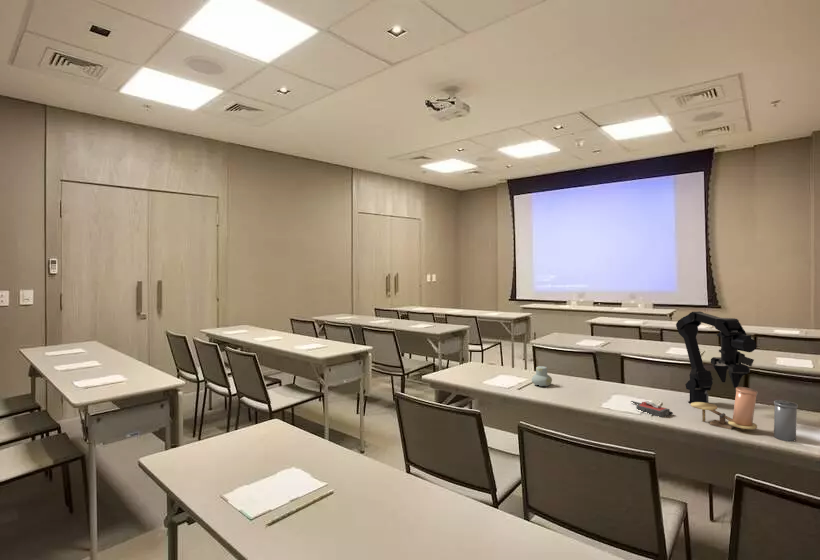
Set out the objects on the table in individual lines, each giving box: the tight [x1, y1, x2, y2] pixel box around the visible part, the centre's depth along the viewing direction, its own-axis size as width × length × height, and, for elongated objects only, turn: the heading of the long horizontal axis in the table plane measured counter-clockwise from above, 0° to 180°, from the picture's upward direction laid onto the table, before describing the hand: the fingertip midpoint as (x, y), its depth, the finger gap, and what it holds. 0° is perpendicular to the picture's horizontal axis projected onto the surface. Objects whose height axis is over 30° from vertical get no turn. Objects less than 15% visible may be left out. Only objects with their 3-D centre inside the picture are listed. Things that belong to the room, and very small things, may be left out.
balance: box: [690, 402, 758, 431], centre depth 176 cm, size 22×9×7 cm, turn 39°
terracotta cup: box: [732, 386, 758, 426], centre depth 170 cm, size 7×7×13 cm
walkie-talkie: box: [630, 400, 674, 418], centre depth 197 cm, size 9×4×20 cm
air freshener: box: [531, 365, 553, 387], centre depth 243 cm, size 11×8×10 cm
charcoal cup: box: [773, 399, 799, 442], centre depth 162 cm, size 7×7×13 cm
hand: (729, 385), depth 187 cm, fingers open, 9 cm apart
